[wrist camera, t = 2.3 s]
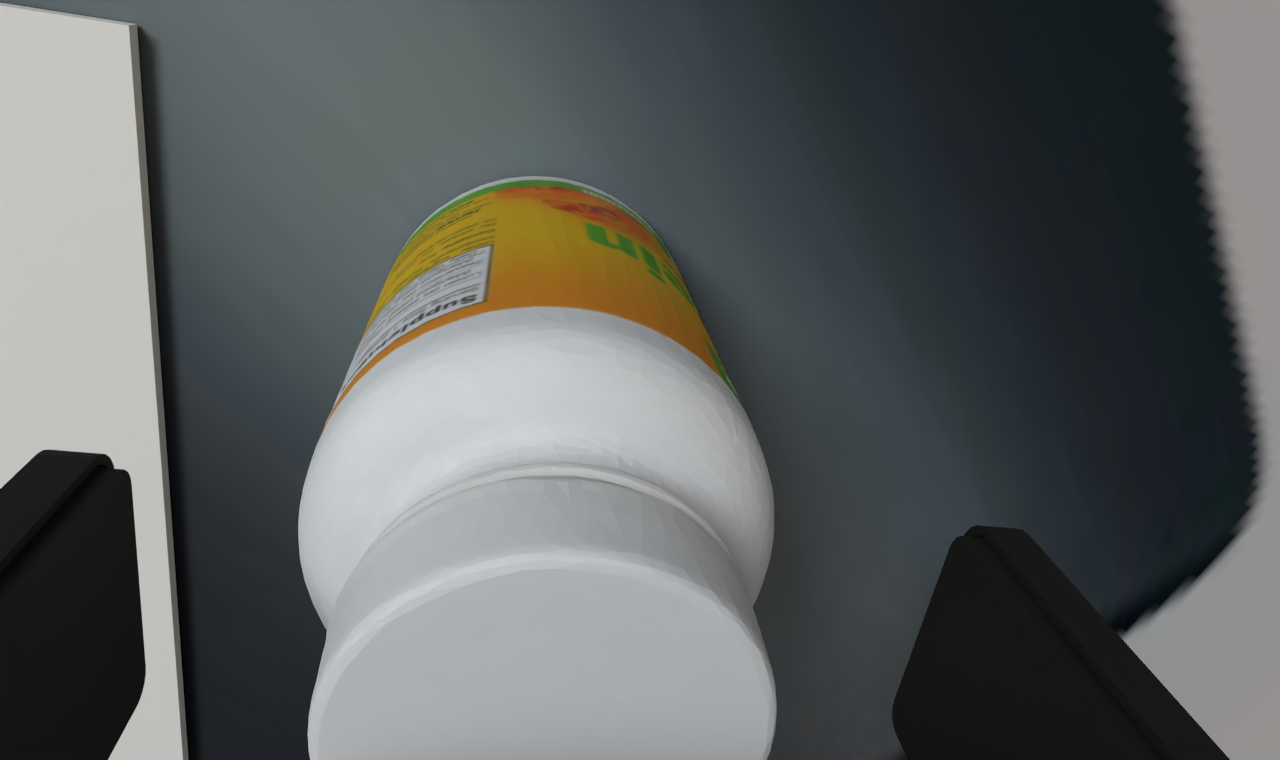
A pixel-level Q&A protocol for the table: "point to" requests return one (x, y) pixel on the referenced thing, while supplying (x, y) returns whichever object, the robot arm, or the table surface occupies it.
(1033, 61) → the table surface
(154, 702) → the paper sheet
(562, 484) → the supplement bottle
